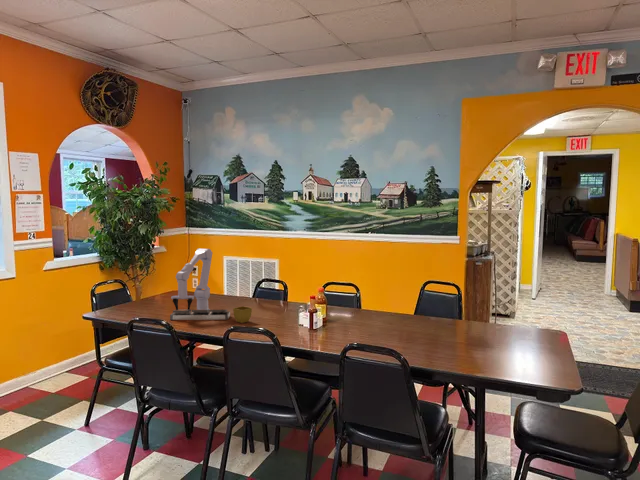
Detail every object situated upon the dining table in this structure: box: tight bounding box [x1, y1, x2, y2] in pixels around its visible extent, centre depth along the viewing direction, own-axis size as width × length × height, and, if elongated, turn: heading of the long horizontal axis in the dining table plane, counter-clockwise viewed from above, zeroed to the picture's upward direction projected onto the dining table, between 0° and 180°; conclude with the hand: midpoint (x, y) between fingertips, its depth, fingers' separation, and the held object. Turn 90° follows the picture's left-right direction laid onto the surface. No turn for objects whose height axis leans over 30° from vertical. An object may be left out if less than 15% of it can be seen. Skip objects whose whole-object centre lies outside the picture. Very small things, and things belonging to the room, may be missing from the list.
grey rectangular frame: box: [172, 308, 192, 313], centre depth 295 cm, size 7×10×2 cm
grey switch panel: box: [169, 310, 231, 321], centre depth 295 cm, size 9×37×3 cm, turn 92°
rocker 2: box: [209, 309, 228, 312], centre depth 296 cm, size 7×10×2 cm
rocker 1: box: [191, 309, 210, 313], centre depth 295 cm, size 7×10×2 cm
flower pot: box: [232, 305, 253, 324], centre depth 285 cm, size 9×9×9 cm
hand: (182, 309), depth 297 cm, fingers open, 7 cm apart
